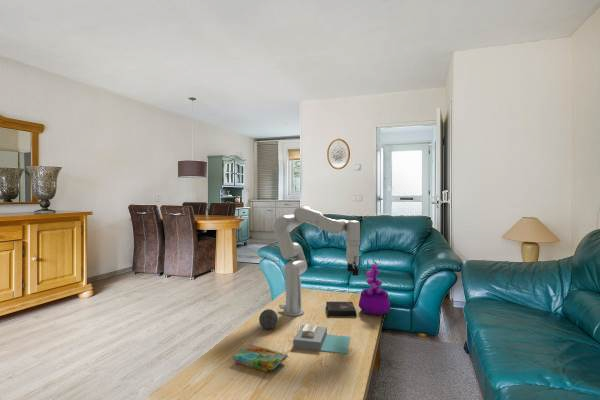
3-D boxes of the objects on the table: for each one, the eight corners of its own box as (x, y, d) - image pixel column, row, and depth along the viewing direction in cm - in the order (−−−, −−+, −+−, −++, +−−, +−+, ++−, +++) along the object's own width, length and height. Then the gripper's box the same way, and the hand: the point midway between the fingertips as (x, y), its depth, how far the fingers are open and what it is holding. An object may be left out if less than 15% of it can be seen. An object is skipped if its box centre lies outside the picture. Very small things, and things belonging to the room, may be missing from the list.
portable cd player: (356, 317, 195) (356, 310, 195) (328, 317, 195) (328, 310, 195) (353, 307, 211) (353, 301, 211) (326, 307, 212) (326, 301, 212)
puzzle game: (249, 342, 151) (287, 352, 141) (249, 352, 151) (287, 363, 141) (233, 353, 140) (272, 364, 131) (233, 364, 140) (272, 376, 131)
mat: (320, 351, 152) (320, 350, 152) (326, 334, 169) (326, 334, 169) (346, 354, 149) (346, 353, 149) (350, 337, 166) (350, 336, 166)
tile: (302, 335, 159) (302, 330, 159) (305, 329, 167) (305, 324, 167) (314, 336, 157) (314, 331, 157) (317, 330, 165) (317, 325, 165)
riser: (293, 347, 155) (293, 339, 155) (302, 332, 172) (302, 324, 172) (320, 351, 152) (320, 342, 152) (326, 334, 169) (326, 327, 169)
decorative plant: (374, 320, 189) (374, 268, 188) (352, 311, 204) (352, 262, 204) (396, 314, 199) (396, 264, 198) (374, 305, 214) (374, 259, 214)
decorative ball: (255, 329, 176) (255, 311, 176) (265, 323, 185) (265, 305, 184) (271, 333, 171) (271, 314, 171) (281, 326, 180) (281, 308, 180)
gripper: (342, 240, 192) (342, 269, 192) (350, 245, 175) (350, 277, 175) (354, 240, 193) (354, 269, 193) (364, 245, 176) (364, 277, 176)
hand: (352, 273), depth 184 cm, fingers open, 9 cm apart
